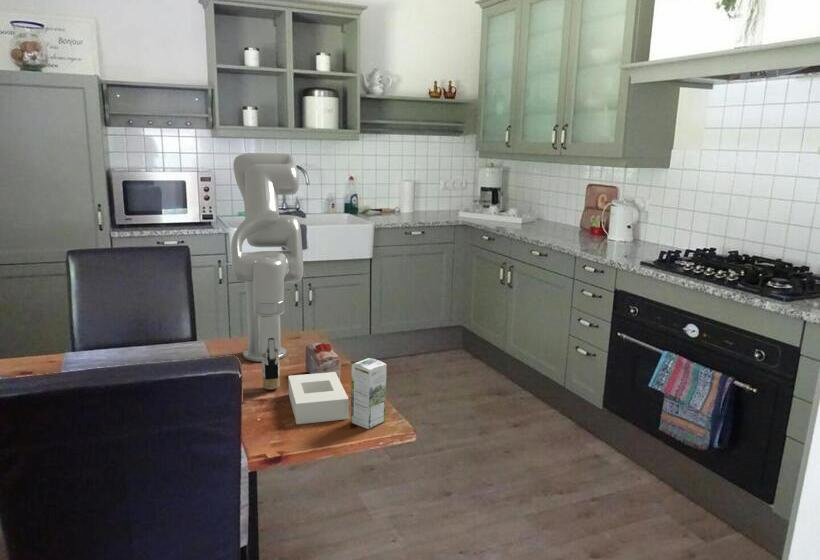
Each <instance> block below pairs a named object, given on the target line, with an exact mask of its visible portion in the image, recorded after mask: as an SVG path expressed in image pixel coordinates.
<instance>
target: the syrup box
mask: <svg viewBox="0 0 820 560" xmlns="http://www.w3.org/2000/svg"><path fill="white" fill-rule="evenodd" d="M387 365H388V364H386V363H385V362H383V361H381V360H378V359H375V358H370V357H368V358H365V359H362V360H359V361H357V362H354V363H352V364H351V378H350V379H351V386H350V387H351V388H350V389H351V390H350V391H351V394H350V422H351V424H353V425H356V426H358V427H362V428H364V429H367V430H370V429H372V428H374V427H377V426H379V425H381V424H383V423H385V422H386V399H387V397H386V396H387V395H386V394H387Z"/></svg>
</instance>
